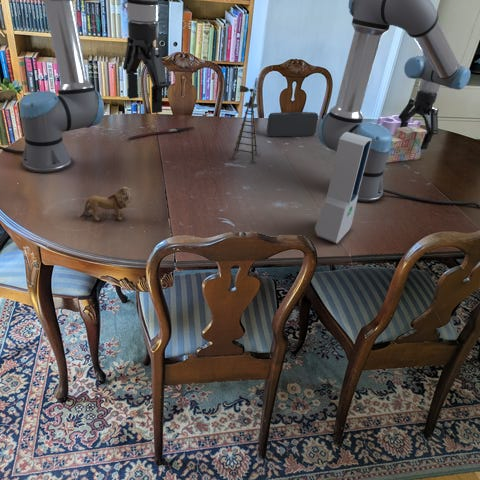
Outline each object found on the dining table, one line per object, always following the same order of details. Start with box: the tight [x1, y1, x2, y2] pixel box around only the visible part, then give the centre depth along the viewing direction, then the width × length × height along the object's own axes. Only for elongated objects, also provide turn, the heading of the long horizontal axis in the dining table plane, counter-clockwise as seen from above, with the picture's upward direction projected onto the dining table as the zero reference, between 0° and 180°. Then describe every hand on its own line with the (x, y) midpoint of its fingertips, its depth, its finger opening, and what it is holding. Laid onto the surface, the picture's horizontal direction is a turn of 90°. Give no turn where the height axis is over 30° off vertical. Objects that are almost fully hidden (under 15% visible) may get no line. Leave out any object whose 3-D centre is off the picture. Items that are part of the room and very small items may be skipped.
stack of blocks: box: [386, 126, 427, 164], centre depth 191 cm, size 21×6×12 cm, turn 115°
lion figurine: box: [79, 186, 133, 222], centre depth 132 cm, size 15×5×9 cm, turn 110°
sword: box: [128, 126, 195, 140], centre depth 193 cm, size 31×3×1 cm, turn 126°
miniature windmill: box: [231, 77, 259, 163], centre depth 172 cm, size 9×8×30 cm
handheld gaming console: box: [266, 111, 319, 137], centre depth 203 cm, size 23×3×10 cm, turn 108°
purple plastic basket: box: [376, 114, 422, 135], centre depth 219 cm, size 20×12×7 cm, turn 109°
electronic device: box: [314, 132, 372, 245], centre depth 130 cm, size 12×8×30 cm, turn 148°
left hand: (144, 104), depth 130 cm, fingers open, 13 cm apart
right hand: (411, 142), depth 194 cm, fingers open, 13 cm apart
